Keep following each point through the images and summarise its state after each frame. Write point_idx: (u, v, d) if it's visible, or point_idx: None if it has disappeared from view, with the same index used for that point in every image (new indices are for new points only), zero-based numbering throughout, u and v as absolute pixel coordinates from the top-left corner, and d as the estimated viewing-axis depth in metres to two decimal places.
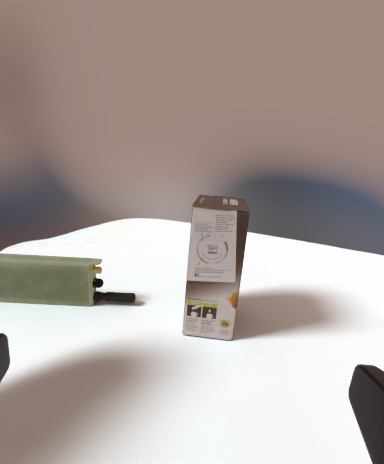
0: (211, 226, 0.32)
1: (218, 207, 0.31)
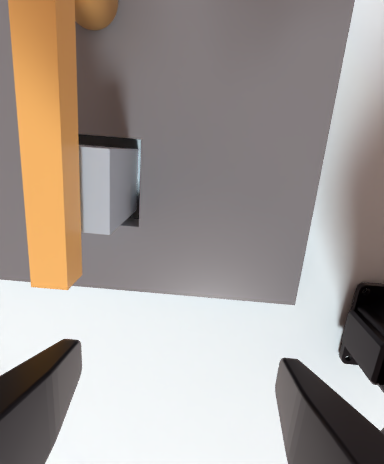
0: None
1: None
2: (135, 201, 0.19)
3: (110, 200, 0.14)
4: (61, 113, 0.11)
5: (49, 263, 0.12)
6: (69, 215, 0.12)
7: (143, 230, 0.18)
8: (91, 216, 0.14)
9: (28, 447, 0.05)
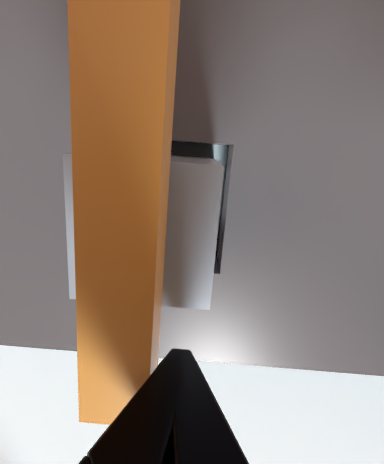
0: None
1: None
2: None
3: (215, 253, 0.08)
4: (164, 96, 0.05)
5: (116, 383, 0.07)
6: (157, 295, 0.06)
7: (226, 278, 0.12)
8: (181, 280, 0.08)
9: None
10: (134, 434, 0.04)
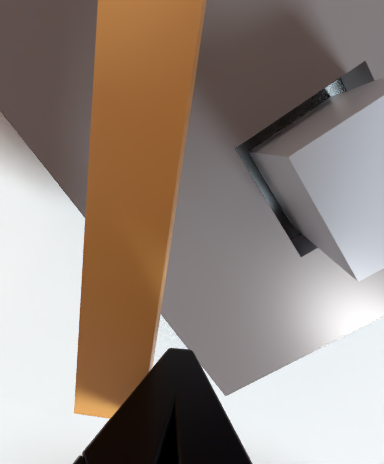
0: None
1: None
2: None
3: None
4: (186, 98, 0.05)
5: (114, 378, 0.07)
6: (161, 293, 0.06)
7: None
8: None
9: (169, 460, 0.05)
10: (129, 434, 0.04)
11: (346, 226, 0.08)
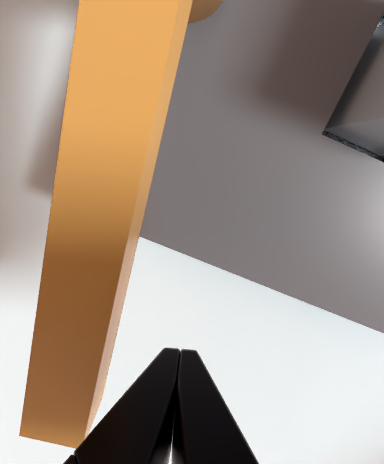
0: None
1: None
2: None
3: None
4: (142, 170, 0.06)
5: (59, 406, 0.07)
6: (110, 332, 0.07)
7: None
8: None
9: (163, 459, 0.05)
10: (122, 433, 0.04)
11: None
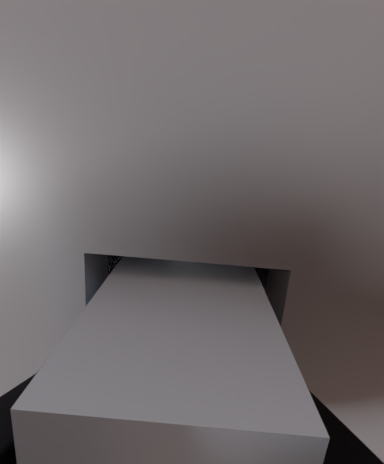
0: None
1: None
2: None
3: None
4: None
5: None
6: None
7: None
8: None
9: None
10: None
11: (138, 445, 0.04)
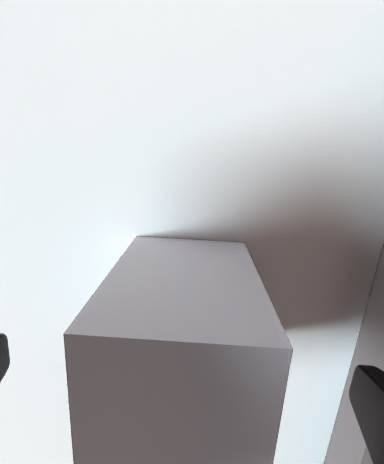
0: None
1: None
2: None
3: None
4: None
5: None
6: None
7: None
8: None
9: None
10: None
11: (155, 360, 0.05)
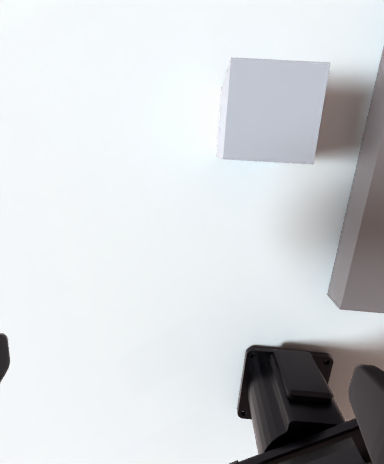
0: None
1: None
2: None
3: None
4: None
5: None
6: None
7: None
8: (243, 139, 0.13)
9: None
10: None
11: (269, 70, 0.12)
